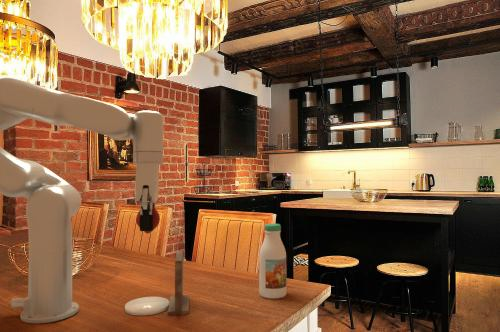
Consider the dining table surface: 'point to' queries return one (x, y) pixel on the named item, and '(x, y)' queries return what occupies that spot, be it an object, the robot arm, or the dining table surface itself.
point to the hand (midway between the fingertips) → (148, 228)
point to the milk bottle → (272, 264)
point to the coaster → (147, 306)
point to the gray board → (179, 290)
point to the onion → (155, 219)
